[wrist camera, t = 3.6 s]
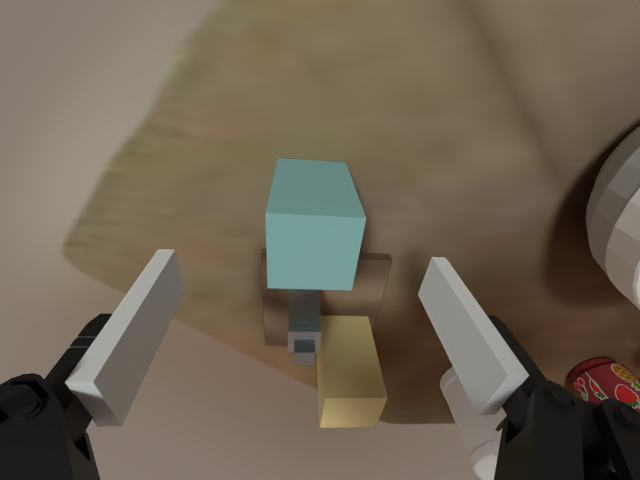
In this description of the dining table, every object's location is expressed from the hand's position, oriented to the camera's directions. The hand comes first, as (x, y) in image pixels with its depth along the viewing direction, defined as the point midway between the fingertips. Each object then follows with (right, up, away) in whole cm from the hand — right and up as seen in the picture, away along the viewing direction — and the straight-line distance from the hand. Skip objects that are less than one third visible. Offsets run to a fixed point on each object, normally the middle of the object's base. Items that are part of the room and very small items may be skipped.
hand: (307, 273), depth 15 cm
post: (-1, -3, +13) cm, 13 cm away
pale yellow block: (+3, -9, +17) cm, 19 cm away
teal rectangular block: (0, +6, +8) cm, 10 cm away
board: (+1, -5, +15) cm, 16 cm away
